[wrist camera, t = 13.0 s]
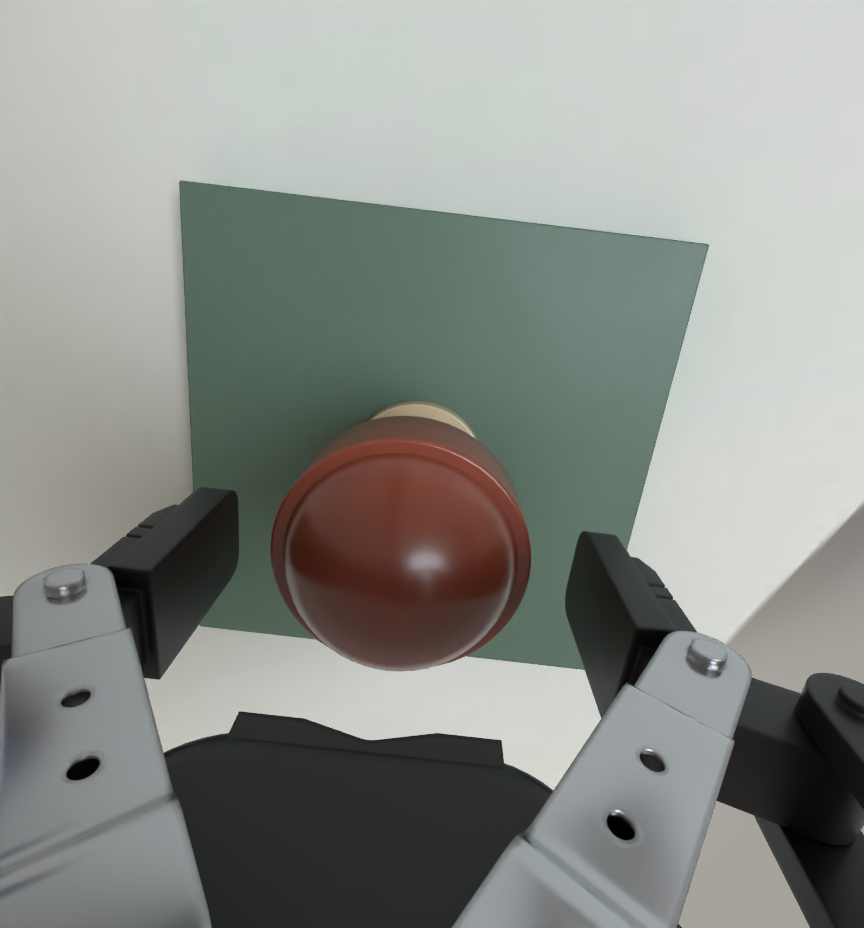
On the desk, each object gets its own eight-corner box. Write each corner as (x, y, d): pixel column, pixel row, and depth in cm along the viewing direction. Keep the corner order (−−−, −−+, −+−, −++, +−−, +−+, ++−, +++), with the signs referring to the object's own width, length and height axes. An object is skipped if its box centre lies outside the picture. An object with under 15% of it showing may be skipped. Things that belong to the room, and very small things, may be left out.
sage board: (196, 186, 17) (178, 179, 16) (692, 246, 17) (709, 244, 16) (211, 608, 22) (199, 626, 21) (587, 651, 22) (594, 671, 21)
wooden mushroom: (336, 369, 17) (232, 452, 9) (516, 390, 17) (577, 492, 9) (328, 530, 19) (237, 720, 11) (489, 549, 19) (519, 752, 11)
